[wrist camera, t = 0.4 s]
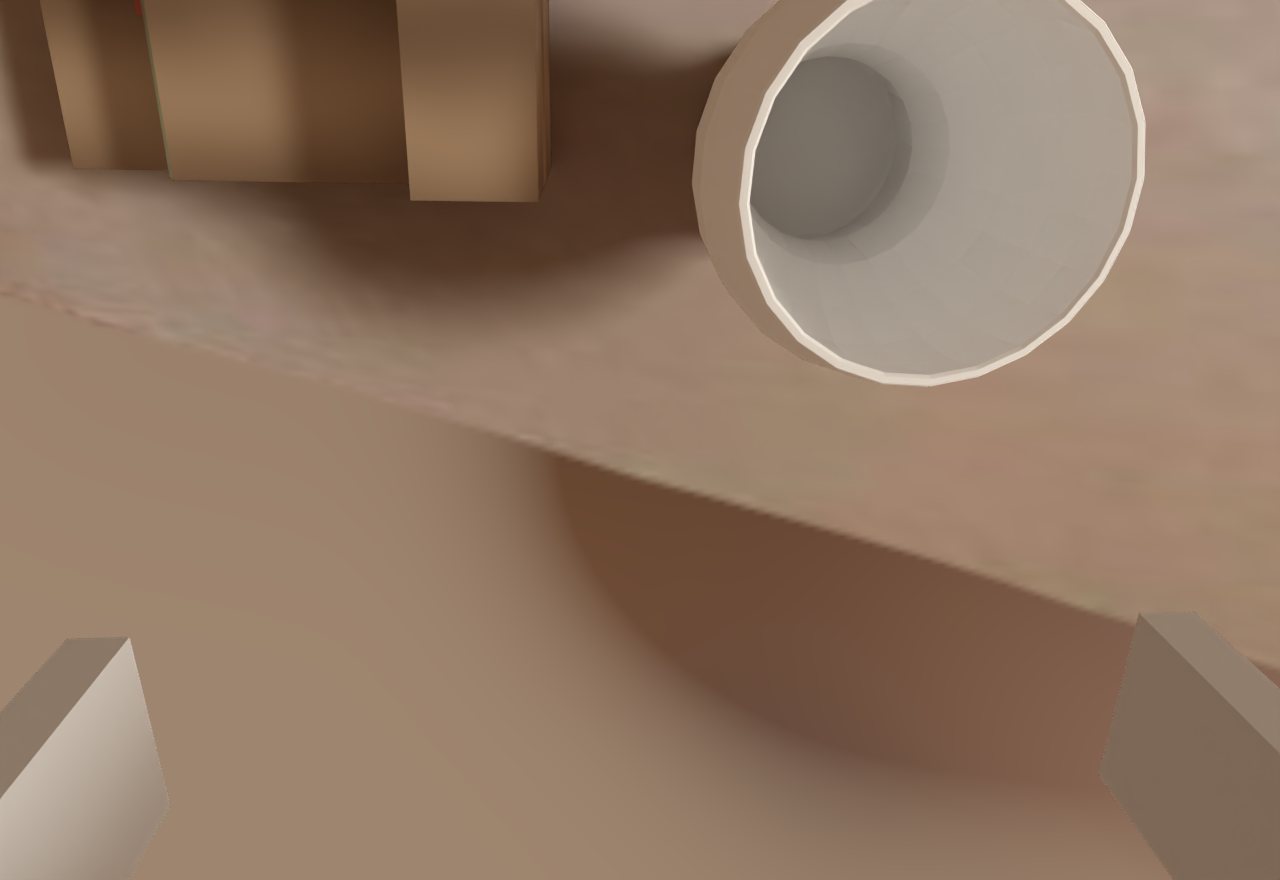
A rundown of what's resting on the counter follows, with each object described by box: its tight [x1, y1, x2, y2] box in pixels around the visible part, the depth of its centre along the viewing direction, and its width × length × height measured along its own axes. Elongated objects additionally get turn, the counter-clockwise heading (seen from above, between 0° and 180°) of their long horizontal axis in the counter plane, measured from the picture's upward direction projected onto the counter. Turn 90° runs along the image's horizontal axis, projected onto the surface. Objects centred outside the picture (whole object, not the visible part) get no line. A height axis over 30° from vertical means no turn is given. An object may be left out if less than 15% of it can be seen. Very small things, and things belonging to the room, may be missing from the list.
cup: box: [692, 0, 1145, 387], centre depth 28 cm, size 11×11×15 cm
